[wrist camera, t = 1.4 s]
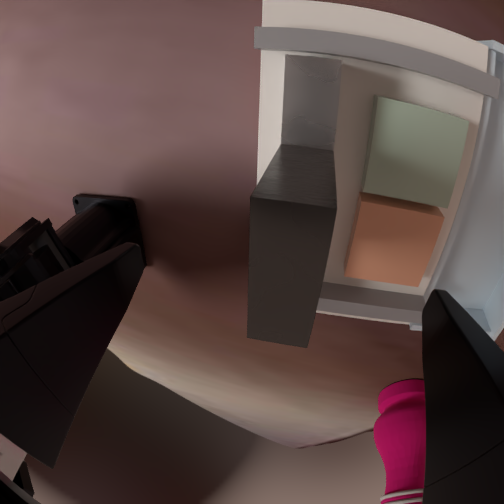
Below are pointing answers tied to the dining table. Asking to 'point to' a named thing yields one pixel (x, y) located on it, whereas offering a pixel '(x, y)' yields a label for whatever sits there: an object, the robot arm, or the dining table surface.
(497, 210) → the tray
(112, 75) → the dining table surface
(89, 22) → the dining table surface
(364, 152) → the white shallow box
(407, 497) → the pepper mill
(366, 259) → the terracotta tile
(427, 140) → the sage tile
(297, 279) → the grey panel
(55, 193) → the dining table surface
